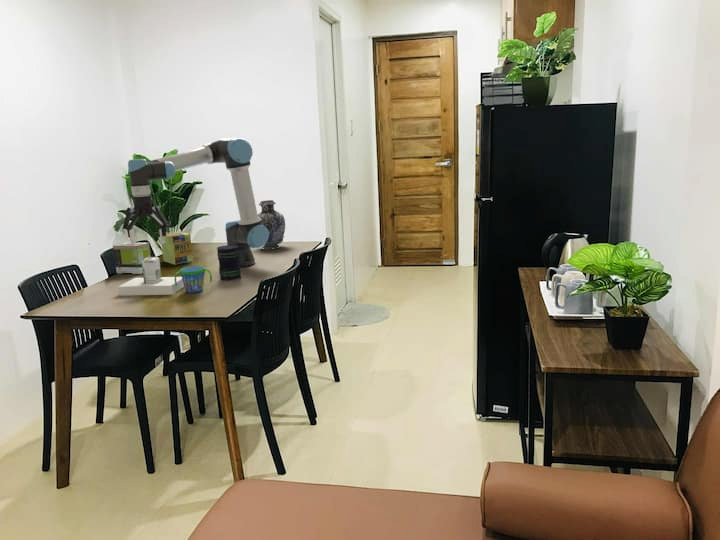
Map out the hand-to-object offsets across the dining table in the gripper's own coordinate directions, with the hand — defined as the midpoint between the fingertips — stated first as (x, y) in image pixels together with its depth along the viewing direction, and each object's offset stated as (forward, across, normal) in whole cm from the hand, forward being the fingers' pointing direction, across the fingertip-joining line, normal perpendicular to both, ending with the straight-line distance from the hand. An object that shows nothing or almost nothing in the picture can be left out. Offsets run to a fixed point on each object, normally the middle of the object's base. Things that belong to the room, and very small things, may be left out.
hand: (148, 244), depth 261 cm
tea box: (+21, -27, +38) cm, 51 cm away
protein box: (+22, -13, +61) cm, 66 cm away
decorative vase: (+22, +31, +93) cm, 100 cm away
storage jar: (+22, +29, +20) cm, 41 cm away
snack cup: (+21, +20, -3) cm, 29 cm away
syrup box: (+21, 0, 0) cm, 21 cm away
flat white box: (+21, 0, 0) cm, 21 cm away
